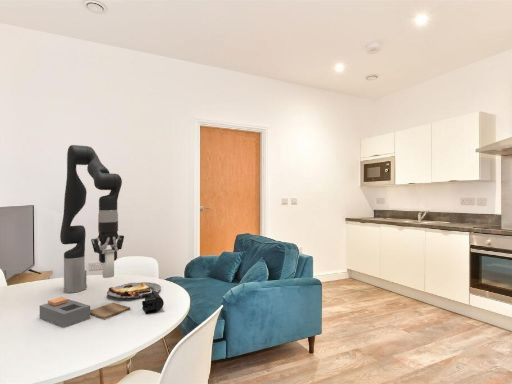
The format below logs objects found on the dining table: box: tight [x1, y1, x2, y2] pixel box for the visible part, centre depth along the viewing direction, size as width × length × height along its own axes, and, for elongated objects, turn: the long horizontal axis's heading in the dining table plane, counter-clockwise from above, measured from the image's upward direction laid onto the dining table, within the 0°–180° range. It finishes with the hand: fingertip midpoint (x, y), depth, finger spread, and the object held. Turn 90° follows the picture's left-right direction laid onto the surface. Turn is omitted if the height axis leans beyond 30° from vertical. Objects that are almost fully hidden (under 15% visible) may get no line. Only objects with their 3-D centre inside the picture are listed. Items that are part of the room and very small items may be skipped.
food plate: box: [106, 281, 162, 299], centre depth 155 cm, size 25×23×4 cm
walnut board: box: [90, 302, 131, 320], centre depth 130 cm, size 12×12×1 cm
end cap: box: [141, 290, 164, 315], centre depth 132 cm, size 10×7×7 cm
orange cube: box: [47, 296, 69, 306], centre depth 126 cm, size 5×5×5 cm
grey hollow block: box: [39, 298, 91, 329], centre depth 124 cm, size 10×18×5 cm, turn 59°
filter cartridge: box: [102, 248, 115, 279], centre depth 130 cm, size 5×5×11 cm
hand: (108, 261), depth 130 cm, fingers closed on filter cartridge, 4 cm apart
